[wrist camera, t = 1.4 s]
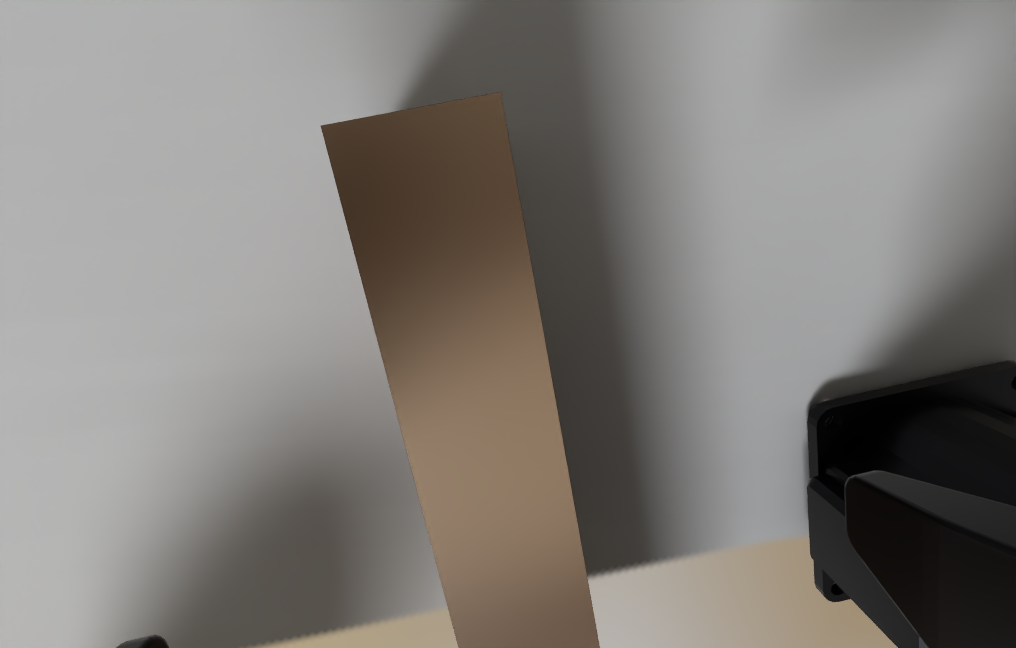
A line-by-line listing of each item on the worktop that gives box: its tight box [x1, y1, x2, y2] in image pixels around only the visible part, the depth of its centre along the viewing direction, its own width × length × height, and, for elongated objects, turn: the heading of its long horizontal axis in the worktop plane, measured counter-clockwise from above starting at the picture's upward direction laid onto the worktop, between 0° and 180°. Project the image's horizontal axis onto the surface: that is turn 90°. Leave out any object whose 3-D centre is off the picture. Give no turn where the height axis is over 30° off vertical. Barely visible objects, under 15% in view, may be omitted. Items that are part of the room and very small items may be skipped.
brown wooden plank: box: [321, 92, 600, 648], centre depth 13 cm, size 18×2×6 cm, turn 11°
